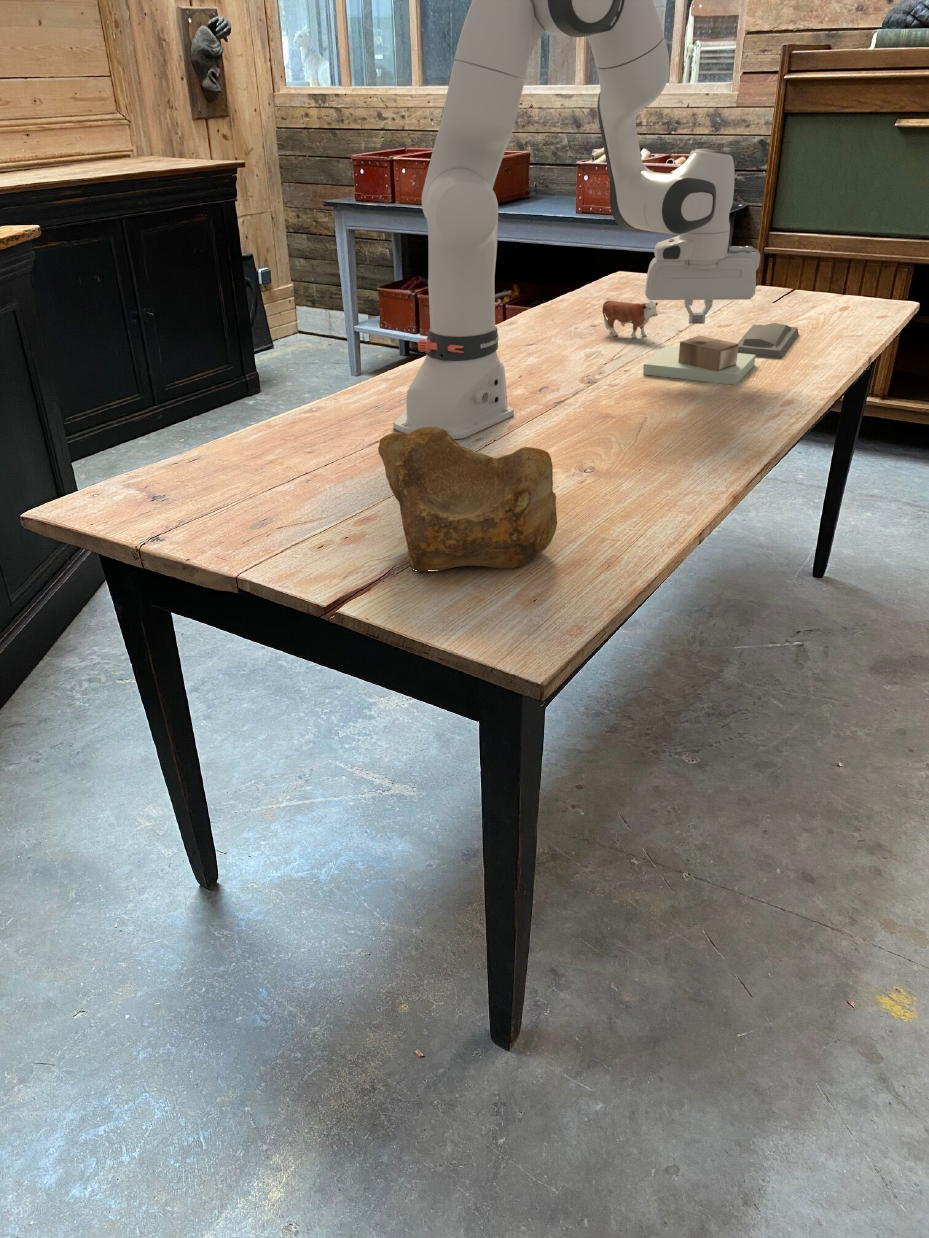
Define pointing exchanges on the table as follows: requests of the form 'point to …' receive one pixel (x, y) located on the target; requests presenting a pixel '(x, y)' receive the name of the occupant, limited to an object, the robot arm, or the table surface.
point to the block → (708, 353)
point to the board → (696, 368)
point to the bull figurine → (628, 314)
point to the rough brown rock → (469, 501)
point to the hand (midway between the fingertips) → (696, 323)
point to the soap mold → (768, 340)
